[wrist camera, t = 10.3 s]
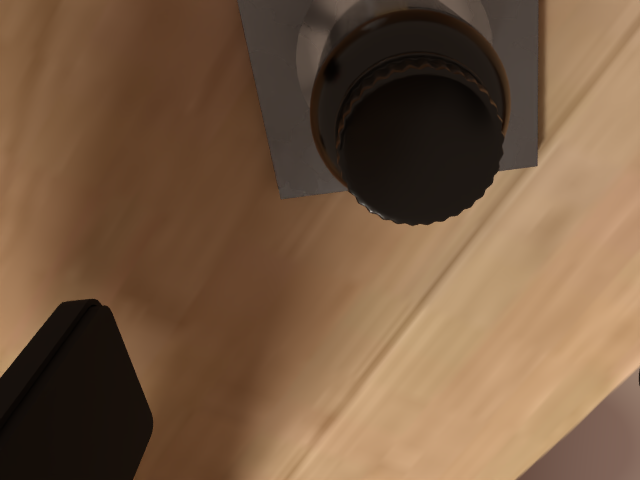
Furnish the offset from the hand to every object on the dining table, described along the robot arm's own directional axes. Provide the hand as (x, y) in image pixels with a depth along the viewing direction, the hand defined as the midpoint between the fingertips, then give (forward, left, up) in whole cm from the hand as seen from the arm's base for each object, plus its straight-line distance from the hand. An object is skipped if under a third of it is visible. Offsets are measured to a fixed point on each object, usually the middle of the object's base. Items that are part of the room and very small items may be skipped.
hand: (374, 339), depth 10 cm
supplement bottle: (0, -1, -20) cm, 20 cm away
